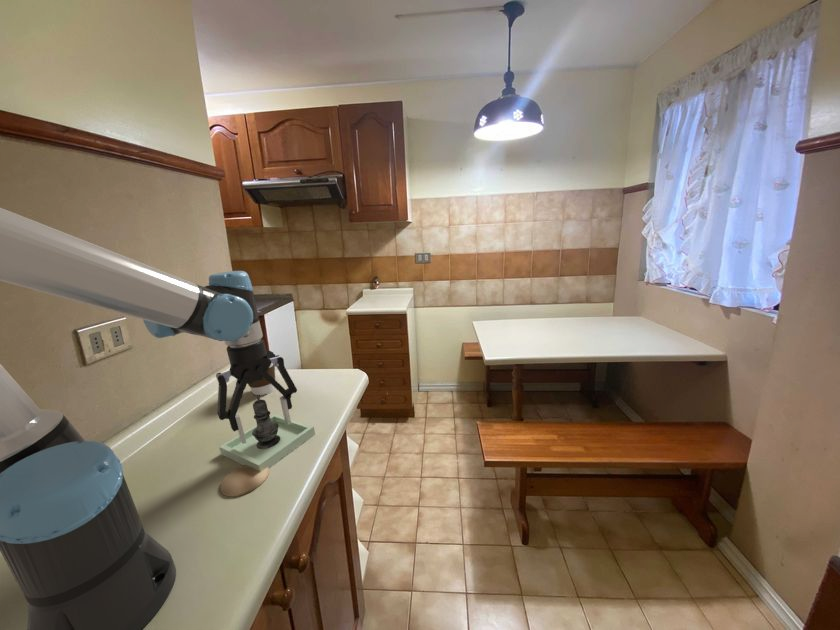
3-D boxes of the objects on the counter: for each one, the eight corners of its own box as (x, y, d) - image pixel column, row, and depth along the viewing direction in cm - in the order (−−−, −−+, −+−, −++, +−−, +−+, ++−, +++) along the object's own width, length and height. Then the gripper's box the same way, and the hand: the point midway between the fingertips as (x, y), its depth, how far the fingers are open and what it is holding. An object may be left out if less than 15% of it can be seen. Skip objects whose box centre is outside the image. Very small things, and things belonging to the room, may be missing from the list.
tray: (260, 473, 72) (258, 465, 71) (221, 454, 79) (219, 446, 79) (315, 434, 84) (313, 426, 83) (276, 420, 91) (274, 413, 91)
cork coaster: (237, 502, 64) (237, 500, 64) (211, 487, 69) (211, 485, 69) (278, 471, 72) (277, 469, 71) (252, 459, 76) (251, 458, 76)
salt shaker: (272, 450, 78) (261, 403, 75) (249, 449, 79) (237, 403, 76) (286, 435, 83) (276, 390, 80) (265, 434, 85) (254, 390, 81)
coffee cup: (251, 386, 114) (243, 352, 111) (285, 380, 116) (278, 347, 113) (240, 402, 104) (231, 365, 100) (278, 396, 105) (270, 360, 102)
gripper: (187, 362, 65) (216, 461, 71) (300, 331, 78) (317, 417, 84) (183, 353, 71) (210, 445, 77) (289, 326, 84) (305, 406, 90)
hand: (266, 430), depth 81 cm, fingers open, 9 cm apart
